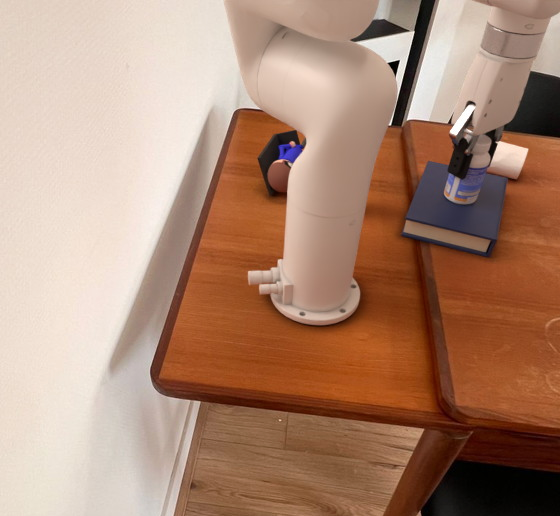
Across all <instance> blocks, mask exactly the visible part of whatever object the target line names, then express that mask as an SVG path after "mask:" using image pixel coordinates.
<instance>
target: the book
mask: <svg viewBox="0 0 560 516" xmlns="http://www.w3.org/2000/svg"><path fill="white" fill-rule="evenodd" d="M448 166H449V164H447V163H446V164H445V163H441V162H436V161H431V160H427V162H426V165H425V167H424V170H423V173H422V174H421V178H420V180H419V182H418V185H417V188H416V190H415V193H414V195H413V198H412V201H411V203H410V205H409V208H408V211H407V212H406V215H405V218H404V220H405V223H404V226H403V228H402V231H401V234H400V237H405V238H408V239H412V240H416V241H420V242H425V243H429V244H433V245H435V246H440V247H444V248H448V249H453V250H456V251H459V252H464V253H468V254H471V255H476V256H481V257H484V258H491V256H492V253H493V251H494V248H495V246H496V243H497V241H498V237H499V232H500V226H501V220H502V215H503V214H502V213H503V209H504V203H505V198H506V193H507V192H506V191H507V186H508V182H509V181H508V180H509V178H508V177H504V176H499V175H496V174H491V173H487V172H486V174H485V177H484V180H483V182H482V185H481V188H480V191H479V194H478V197H477V199H476V201H475V202H473V203H471V204H457V203H454V202H452V201H450V200H448V199H447V198H446V197H445V195H444V190H445V186H446V183H447V180H448V176H449V172H448Z"/></svg>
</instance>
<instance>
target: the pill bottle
mask: <svg viewBox="0 0 560 516" xmlns="http://www.w3.org/2000/svg"><path fill="white" fill-rule="evenodd" d="M471 137H472V136H471V135H469V134H465V136H464V138H466V140H467V142H468V143H469V141H470V139H471ZM490 145H491V139H490V138H489V137H488V136H486V135H483V134H481V135H480V136H479V138H478V140H477V142H476V144H475V146H474V148H473V150H472V152H471V154H473V157H472V160H471V163H470V166H469V169H468V172H467V175H466V178H464V179H460V178H458V177H456V176H454V175H452V174H450V173H449V176H448V180H447V183H446V186H445V190H444V195H445V197H446V198H447V199H448V200H450V201H452V202H454V203H457V204H471V203H473V202H475V201H476V199H477V197H478V194H479V191H480V188H481V185H482V182H483V180H484V177H485V174H486V173H487V172H486V171H487V168H488V165H489V163H490V155H489V153H488V151H489V148H490Z"/></svg>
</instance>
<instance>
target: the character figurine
mask: <svg viewBox="0 0 560 516" xmlns="http://www.w3.org/2000/svg"><path fill="white" fill-rule="evenodd" d="M305 147H306V137H305V136H304V138H303V141H302V142H301V141H300V138H299V134H298V131H297V130H295V129H294V130H293V129H292V130H287V131H283V132H278V133H273V134H272V136H271V137H270V139H269V141H268V142H267V143H266V145H265V146H264V148H263V149H262V151H261V152H260V153H259V155H258V156H257V162H258V165H259V168H260V171H261V174H262V177H263V181H264V183H265V186H266V190H267V192H268V195H269V197H270V196H271V197H272V196H274V194H275V192H279V193H287V189H288V178H289V173H290V170H291V167H292V165H293V163H294V162H295V160H296V159H297V158H298V156H299V155H300V154H301V153H302V152H303V150H304V149H305Z"/></svg>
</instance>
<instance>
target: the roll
mask: <svg viewBox="0 0 560 516" xmlns="http://www.w3.org/2000/svg"><path fill="white" fill-rule="evenodd" d="M496 143H498V145H497V148H496V150H495V153H494V156H493V159H492V161H491V164H490V166H489V167H488V168H487V171H486V173H487V174H492V175H496V176H501V177H505V178H508V179H512V180H518V178H519V176H520V174H521V171H522V169H523V167H524V164H525V162H526V158H527V156H528V154H529V148H527V147H523V146H519V145H516V144H512V143H507V142H505V141H501V140H500V141H499V142H496Z"/></svg>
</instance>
